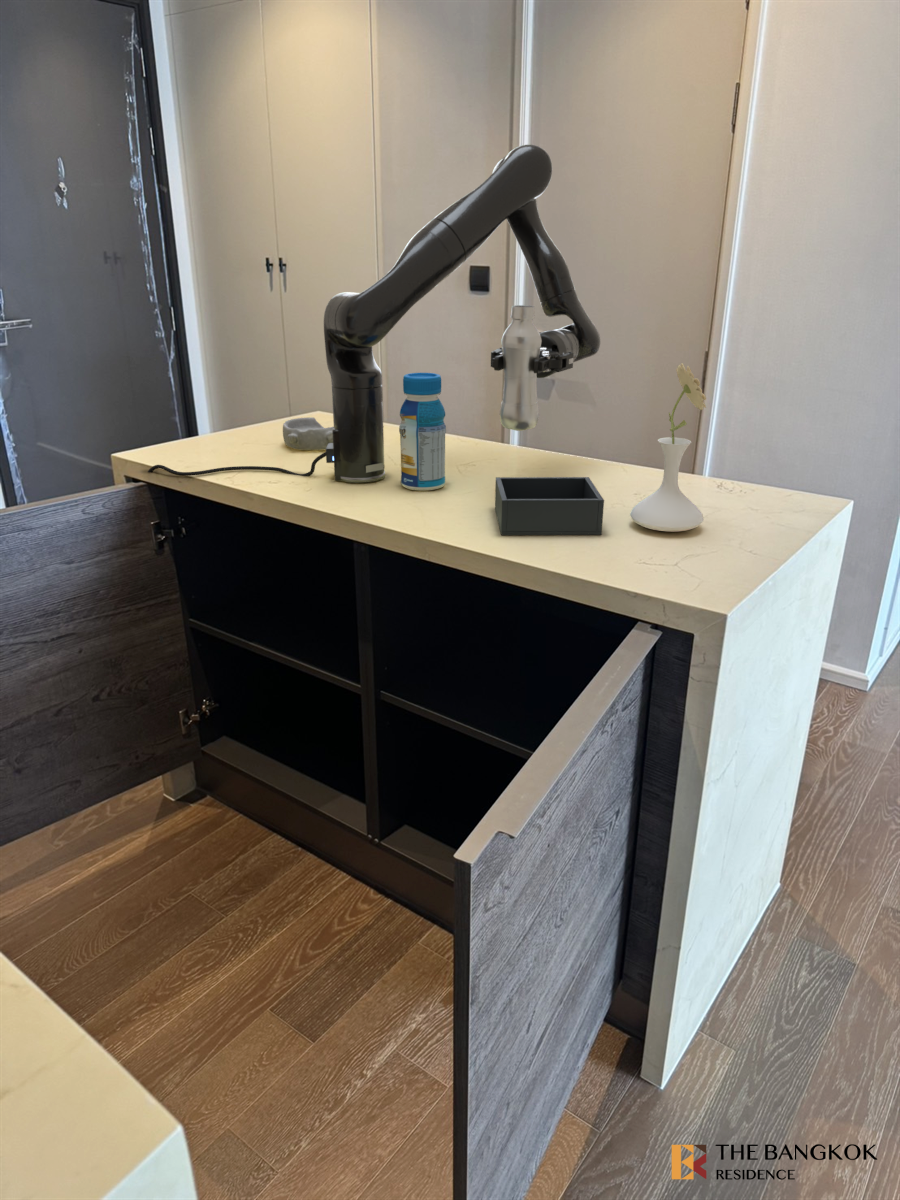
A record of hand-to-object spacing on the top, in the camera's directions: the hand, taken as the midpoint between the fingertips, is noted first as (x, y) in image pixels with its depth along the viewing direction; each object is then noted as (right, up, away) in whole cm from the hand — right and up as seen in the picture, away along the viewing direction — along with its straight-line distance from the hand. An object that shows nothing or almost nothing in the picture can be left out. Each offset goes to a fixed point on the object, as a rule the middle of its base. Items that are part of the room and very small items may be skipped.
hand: (516, 365), depth 140 cm
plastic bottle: (+1, -9, +6) cm, 11 cm away
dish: (-40, -5, +49) cm, 64 cm away
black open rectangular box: (+5, -26, -1) cm, 26 cm away
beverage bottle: (-16, -17, +19) cm, 30 cm away
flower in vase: (+24, -26, -2) cm, 36 cm away
